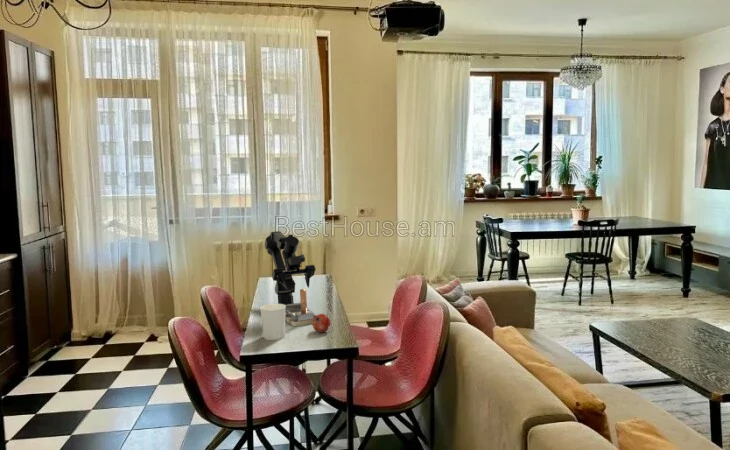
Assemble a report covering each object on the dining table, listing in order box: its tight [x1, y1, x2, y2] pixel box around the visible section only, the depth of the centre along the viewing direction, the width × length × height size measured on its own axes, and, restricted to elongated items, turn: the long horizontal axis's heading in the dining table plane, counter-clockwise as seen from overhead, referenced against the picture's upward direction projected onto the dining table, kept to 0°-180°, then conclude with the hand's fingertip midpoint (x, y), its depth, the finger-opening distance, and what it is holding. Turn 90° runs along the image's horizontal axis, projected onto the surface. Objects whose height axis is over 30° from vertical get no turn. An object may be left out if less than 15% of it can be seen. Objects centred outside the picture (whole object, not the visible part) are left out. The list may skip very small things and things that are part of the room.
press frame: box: [285, 302, 318, 327], centre depth 222 cm, size 18×12×4 cm, turn 24°
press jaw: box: [295, 288, 314, 321], centre depth 215 cm, size 4×7×13 cm, turn 114°
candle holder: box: [259, 303, 286, 341], centre depth 198 cm, size 10×10×12 cm
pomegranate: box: [311, 313, 331, 333], centre depth 203 cm, size 7×7×10 cm
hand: (298, 288), depth 221 cm, fingers open, 9 cm apart
